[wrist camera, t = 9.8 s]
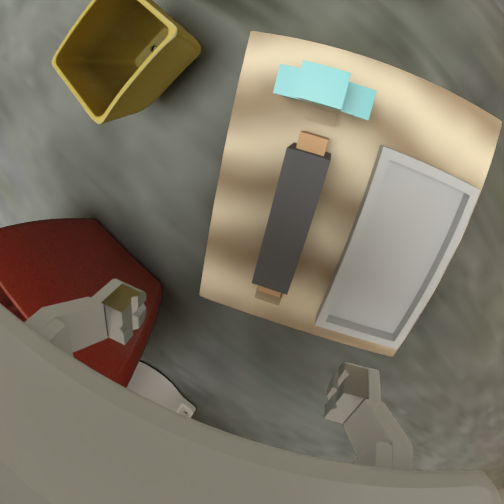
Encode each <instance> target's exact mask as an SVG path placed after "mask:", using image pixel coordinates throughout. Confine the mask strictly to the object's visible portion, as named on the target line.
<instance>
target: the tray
mask: <svg viewBox="0 0 504 504" xmlns="http://www.w3.org/2000/svg"><path fill="white" fill-rule="evenodd" d="M480 191H481V190H479V189H478V188H476V187H475V186H473V185H471V184H469V183H467V182H465V181H463V180H461V179H459V178H457V177H455V176H453V175H451V174H449V173H447V172H445V171H443V170H441V169H438V168H436V167H434V166H432V165H430V164H427V163H425V162H423V161H421V160H418V159H416V158H414V157H411V156H409V155H406V154H404V153H402V152H399V151H397V150H394V149H391V148H389V147H386V146H384V145H381V144H380V147H379V150H378V153H377V157H376V160H375V163H374V166H373V169H372V172H371V175H370V178H369V181H368V184H367V187H366V190H365V193H364V196H363V199H362V202H361V204H360V207H359V210H358V213H357V215H356V218H355V221H354V224H353V226H352V229H351V232H350V234H349V237H348V239H347V242H346V245H345V247H344V250H343V252H342V255H341V257H340V260H339V262H338V265H337V267H336V270H335V272H334V275H333V277H332V279H331V282H330V284H329V287H328V289H327V291H326V294H325V296H324V298H323V300H322V303H321V305H320V307H319V310H318V312H317V314H316V319H315V325H316V326H319V327H322V328H325V329H329V330H332V331H335V332H338V333H342V334H345V335H349V336H352V337H355V338H359V339H362V340H366V341H369V342H373V343H376V344H380V345H383V346H387V347H391V348H394V349H398V347H399V346H400V344H401V343H402V341H403V340H404V338H405V337H406V335H407V334H408V332H409V331H410V329H411V328H412V326H413V324H414V323H415V321H416V320H417V318H418V317H419V315H420V313H421V312H422V310H423V308H424V307H425V305H426V303H427V302H428V300H429V298H430V296H431V295H432V293H433V291H434V289H435V288H436V286H437V284H438V282H439V280H440V279H441V277H442V275H443V273H444V271H445V269H446V267H447V265H448V263H449V261H450V259H451V257H452V255H453V253H454V251H455V249H456V247H457V245H458V243H459V241H460V239H461V236H462V234H463V232H464V230H465V228H466V225H467V223H468V221H469V218H470V216H471V214H472V211H473V209H474V206H475V204H476V201H477V199H478V196H479V193H480Z"/></svg>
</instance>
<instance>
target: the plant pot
mask: <svg viewBox="0 0 504 504" xmlns="http://www.w3.org/2000/svg"><path fill="white" fill-rule="evenodd" d="M112 279H118V280H120V281H122V282H124V283H127V284H129V285H131V286H133V287H135V288H138V289H140V290H142V291H144V292H145V293H146V301H145V302H144V305H145V307H146V317H145V319H144V321H143V324H142V325H141V326H140V327H139V329H135V330H133V336H132V337H131V338H130V339H129V341H128V342H127V343H126V344H125V345H124V344H121V343H119V342H117V341H115V340H113V339H111V338H109V337H108V338H107V339H104V340H102V341H100V342H97V343H95V344H92V345H90V346H88V347H85V348H83V349H80V350H78V351H76V352H73V355H74V358H75V359H77V360H78V361H80V362H82V363H83V364H85V365H86V366H88V367H90V368H91V369H93V370H95V371H96V372H98V373H100V374H102V375H103V376H105V377H107V378H109V379H110V380H112V381H114V382H116V383H118V384H119V385H121V386H123V387H125V388H127V386H128V384H129V382H130V380H131V378H132V376H133V374H134V372H135V369H136V367H137V365H138V363H139V361H140V358H141V356H142V354H143V351H144V349H145V346H146V344H147V342H148V339H149V336H150V334H151V331H152V328H153V326H154V323H155V320H156V317H157V314H158V310H159V307H160V304H161V300H162V295H163V287H162V285H161V283H160V282H159V281H158V280H157V279H156V278H154V277H153V276H152V275H151V274H150V273H149V272H148V271H147V270H146V269H145V268H144V267H143V266H142V265H141V264H140V263H139V262H138V261H137V260H135V259H134V258H133V257H132V256H131V255H130V254H129V253H128V252H127V251H126V250H125V249H124V248H123V247H122V246H121V245H120V244H119V243H118V242H117V241H116V240H115V239H114V238H113V237H112V236H111V235H110V234H109V233H108V232H107V231H106V230H105V229H104V228H103V227H102V226H101V225H100V223H99V222H98V221H96V220H95V219H87V218H63V219H48V220H39V221H32V222H26V223H20V224H15V225H11V226H7V227H2V228H0V303H1V304H2V305H3V306H4V307H6V308H7V309H8V310H9V311H10V312H12V313H13V314H14V315H15V316H17V317H18V318H19V319H20V320H22V321H23V322H25V321H27V320H28V319H29V318H30V317H31V316H32V315H33V314H35V313H36V312H37V311H38V310H39V309H41V308H42V307H46V306H50V305H54V304H59V303H63V302H67V301H71V300H76V299H80V298H84V297H90V298H91V297H93V296H94V295H95V294H96V293H97V292H98V291H99V290H101V289H102V288H103V287H104V286H105V285H106V284H107V283H109V282H110V281H111V280H112Z"/></svg>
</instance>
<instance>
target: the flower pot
mask: <svg viewBox="0 0 504 504" xmlns="http://www.w3.org/2000/svg"><path fill="white" fill-rule="evenodd" d="M153 46H156V47H157V48H156V49H155V50H154V51H152V48H153ZM200 52H201V46H200V44H199V42H198V41H197V40H196V39H195V38H194V37H193V36H192V35H191V34H190V33H188V32H187V31H186V30H185V29H184V28H183V27H182V26H181V25H179V24H178V23H177V22H176V21H175V20H174V19H173V18H171V17H170V16H169V15H168V14H167V13H166V12H165V11H164V10H162V9H161V8H160V7H159V6H158V5H157V4H156V3H155V2H154V1H152V0H92V1H91V3H90V4H89V5H88V6H87V8H86V9H85V10H84V12H83V13H82V14H81V16H80V17H79V19H78V20H77V21H76V23H75V24H74V26H73V27H72V29H71V30H70V32H69V33H68V35H67V36H66V38H65V39H64V41H63V42H62V44H61V45H60V47H59V48H58V50H57V52H56V54H55V56H54V58H53V60H52V65H53V67H54V68H55V70H56V71H57V73H58V74H59V75H60V77H61V78H62V79H63V81H64V82H65V83H66V85H67V86H68V87H69V88H70V90H71V91H72V93H73V94H74V95H75V97H76V98H77V99H78V101H79V102H80V104H81V105H82V106H83V108H84V109H85V110H86V112H87V113H88V114H89V116H90V117H91V118H92V119H93V120H94V121H95V122H96V123H97V124H103V123H105V122H109V121H112V120H115V119H118V118H121V117H125V116H128V115H131V114H134V113H137V112H139V111H141V110H143V109H145V108H146V107H148V106H149V105H151V104H152V103H153V102H154V101H155V100H156V99H157V98H158V97H159V96H160V95H161V94H162V93H163V92H164V91H165V90H166V88H167V87H168V86H169V85H170V84H171V83H172V82H173V81H174V80H175V79H176V78H177V77H178V76H179V75H180V74H181V73H182V72H183V71H184V70H185V69H186V68H187V67H188V66H189V65H190V64H191V63H192V62H193V61H194V60H195V59H196V58H197V57H198V56H199V54H200Z"/></svg>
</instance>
